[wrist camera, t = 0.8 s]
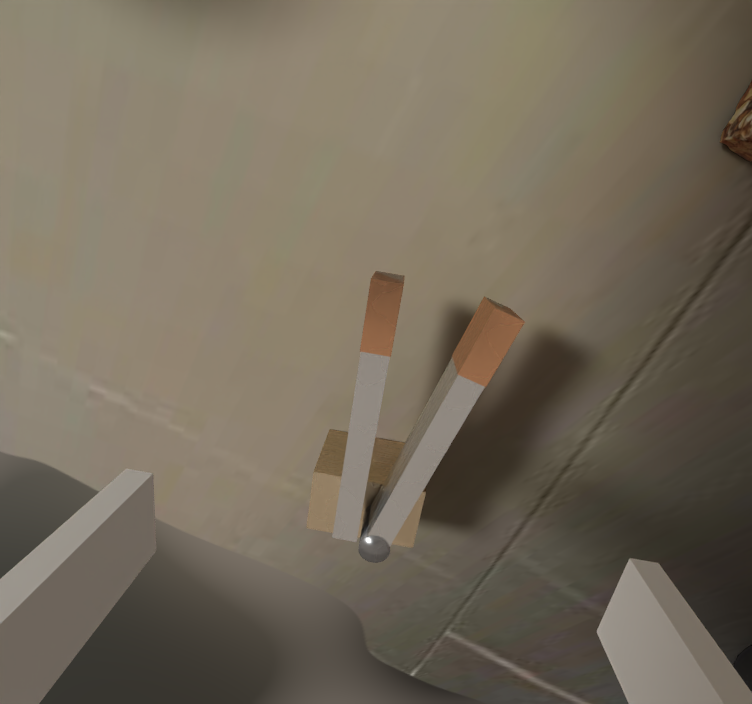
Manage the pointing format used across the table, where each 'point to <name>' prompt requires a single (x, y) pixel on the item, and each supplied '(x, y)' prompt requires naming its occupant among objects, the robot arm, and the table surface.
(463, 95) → the table surface
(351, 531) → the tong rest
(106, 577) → the robot arm
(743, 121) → the bread
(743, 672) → the travel mug
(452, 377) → the tong arm
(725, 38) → the table surface
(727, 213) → the table surface
